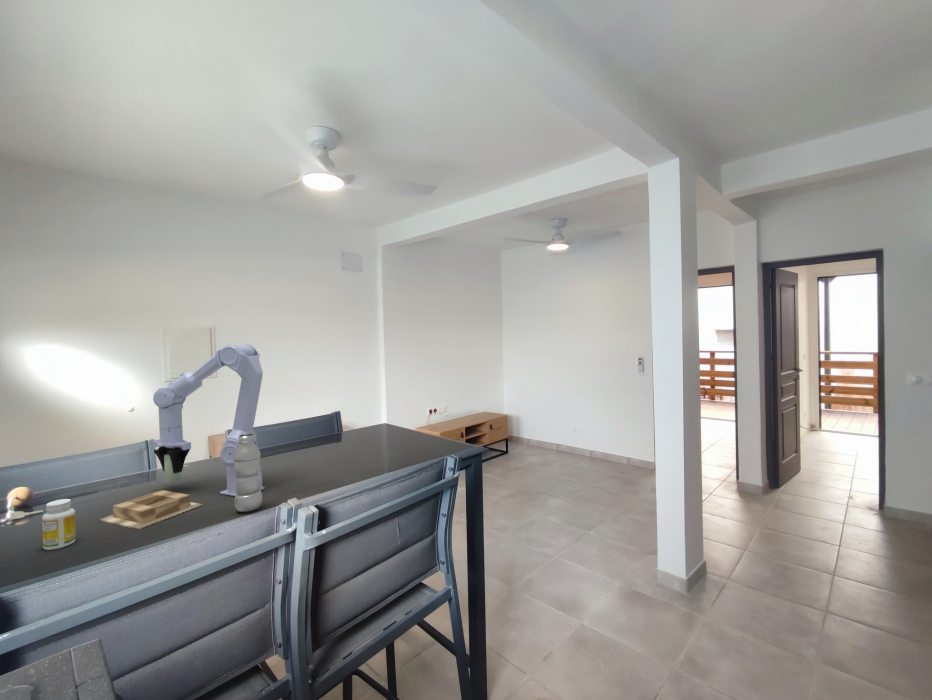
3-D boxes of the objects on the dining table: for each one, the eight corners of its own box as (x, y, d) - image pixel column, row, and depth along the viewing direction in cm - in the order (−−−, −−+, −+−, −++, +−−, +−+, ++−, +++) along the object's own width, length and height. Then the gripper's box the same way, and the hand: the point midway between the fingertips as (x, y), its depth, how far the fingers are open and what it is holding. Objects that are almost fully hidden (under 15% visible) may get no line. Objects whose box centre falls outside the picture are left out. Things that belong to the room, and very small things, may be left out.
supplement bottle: (44, 553, 91) (42, 508, 91) (41, 545, 94) (39, 503, 94) (78, 543, 95) (76, 501, 95) (74, 537, 98) (72, 495, 98)
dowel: (184, 478, 129) (183, 452, 129) (170, 483, 126) (169, 456, 126) (175, 477, 131) (174, 451, 131) (161, 481, 127) (160, 455, 127)
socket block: (202, 505, 116) (202, 493, 116) (139, 530, 101) (138, 515, 101) (164, 498, 122) (164, 487, 122) (99, 520, 107) (98, 507, 107)
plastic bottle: (268, 506, 114) (266, 433, 114) (247, 516, 108) (245, 438, 108) (249, 504, 117) (247, 431, 116) (228, 513, 110) (226, 437, 110)
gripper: (141, 428, 127) (143, 473, 127) (173, 430, 122) (175, 477, 122) (165, 424, 134) (167, 466, 134) (197, 426, 128) (198, 470, 128)
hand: (172, 471), depth 128 cm, fingers closed on dowel, 4 cm apart
